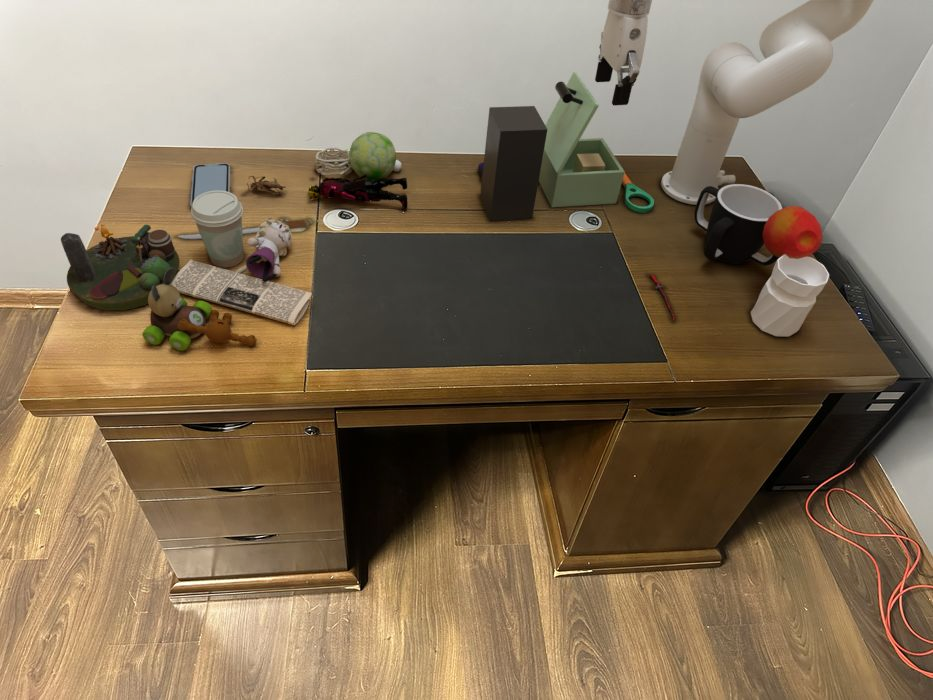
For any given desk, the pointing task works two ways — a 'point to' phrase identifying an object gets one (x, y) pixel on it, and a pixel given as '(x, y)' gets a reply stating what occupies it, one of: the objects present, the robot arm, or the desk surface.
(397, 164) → the spheres
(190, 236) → the sword
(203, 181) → the smartphone
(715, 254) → the mug
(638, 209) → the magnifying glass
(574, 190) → the storage box
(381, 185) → the action figure
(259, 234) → the toy
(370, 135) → the decorative ball
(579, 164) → the block
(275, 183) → the insect
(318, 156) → the bracelet
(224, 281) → the newspaper
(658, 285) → the katana
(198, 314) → the toy car
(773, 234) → the apple
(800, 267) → the vase
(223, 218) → the coffee cup
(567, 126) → the lid
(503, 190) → the block
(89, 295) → the toy scene
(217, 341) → the toy figurine
